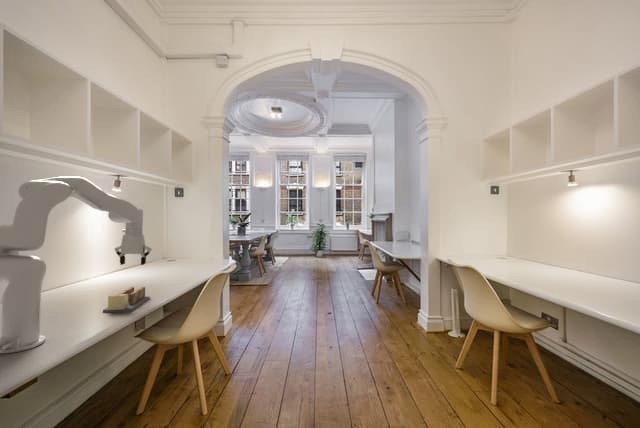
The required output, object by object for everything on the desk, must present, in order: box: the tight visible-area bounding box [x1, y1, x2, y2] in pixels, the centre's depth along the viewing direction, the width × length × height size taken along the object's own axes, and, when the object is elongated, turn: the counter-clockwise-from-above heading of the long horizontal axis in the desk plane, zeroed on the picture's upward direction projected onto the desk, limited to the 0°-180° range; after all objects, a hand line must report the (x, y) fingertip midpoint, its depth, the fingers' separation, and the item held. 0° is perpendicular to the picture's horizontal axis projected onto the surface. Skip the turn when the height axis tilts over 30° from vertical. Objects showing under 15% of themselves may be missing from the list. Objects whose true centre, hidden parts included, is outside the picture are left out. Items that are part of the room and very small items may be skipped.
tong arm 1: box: [118, 286, 135, 299], centre depth 149 cm, size 15×2×5 cm, turn 10°
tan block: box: [107, 293, 128, 310], centre depth 136 cm, size 4×7×6 cm, turn 100°
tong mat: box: [102, 295, 151, 314], centre depth 146 cm, size 22×12×1 cm, turn 10°
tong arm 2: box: [129, 286, 146, 304], centre depth 150 cm, size 15×2×5 cm, turn 10°
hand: (132, 264), depth 150 cm, fingers open, 9 cm apart
